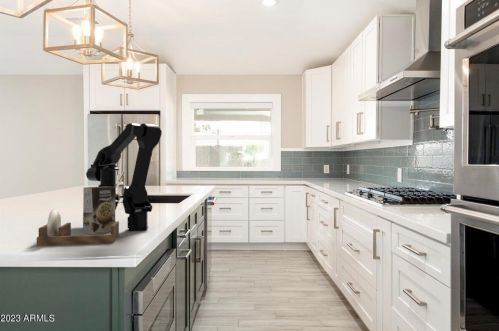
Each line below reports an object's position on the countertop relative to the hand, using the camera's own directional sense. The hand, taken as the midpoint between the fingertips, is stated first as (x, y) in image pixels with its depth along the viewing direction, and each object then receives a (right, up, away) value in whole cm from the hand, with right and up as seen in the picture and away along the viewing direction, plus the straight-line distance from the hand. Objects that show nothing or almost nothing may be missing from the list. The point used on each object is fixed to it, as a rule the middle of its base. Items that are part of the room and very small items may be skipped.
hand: (108, 220), depth 144 cm
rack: (+3, -2, -29) cm, 30 cm away
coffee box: (+3, -2, -15) cm, 15 cm away
